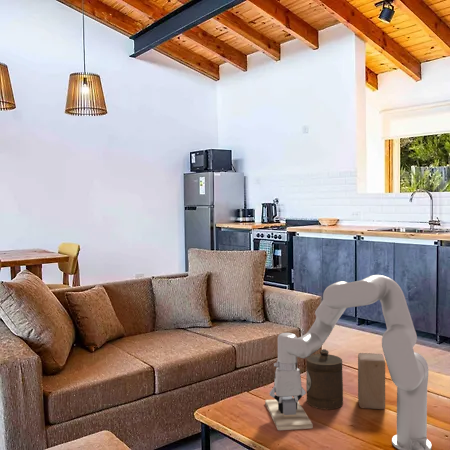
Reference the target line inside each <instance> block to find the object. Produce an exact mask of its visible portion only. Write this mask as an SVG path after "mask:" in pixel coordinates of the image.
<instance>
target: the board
mask: <svg viewBox="0 0 450 450" xmlns="http://www.w3.org/2000/svg"><path fill="white" fill-rule="evenodd" d="M293 399H294V398H293ZM264 402H265V406H266V408H267V410H268V412H269V415H270V416H271V418H272V421H273V424H274V425H275V427H276V429H277V431H289V430H291V431H292V430H304V429H306V430H307V429H313V428H314V427H313V426H314V424H313V423H312V420H311V419H310V417H309V416H308V414H307V413H306V411H305V410H304V408H303V407H302V405H301V404H300V401H298V402H297V409H296V416H286V417H284V415H283V413H281V412H280V410H278V401H277V400H276V399H275V398H274V399H265V400H264Z"/></svg>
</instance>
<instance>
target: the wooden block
mask: <svg viewBox="0 0 450 450" xmlns="http://www.w3.org/2000/svg"><path fill="white" fill-rule="evenodd" d="M357 399H358V405H359V408H362V409H369V410H370V409H373V410H385V409H386V359H385V356H384V354H382V353H375V352H373V353H372V352H371V353H370V352H369V353H368V352H359V353H358V355H357Z"/></svg>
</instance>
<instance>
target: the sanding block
mask: <svg viewBox="0 0 450 450" xmlns="http://www.w3.org/2000/svg"><path fill="white" fill-rule="evenodd" d="M282 403H283V415H284V417H286V416H296V402H295V401H294V399H293V396H286V397H283V398H282Z"/></svg>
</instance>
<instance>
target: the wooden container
mask: <svg viewBox="0 0 450 450" xmlns="http://www.w3.org/2000/svg"><path fill="white" fill-rule="evenodd" d="M305 363H306V377H305V378H306V380H305V381H306V382H305V383H306V384H305V385H306V387H305V388H306V390H305V392H306V403H307V405H309V406H311V407H313V408H316V409H319V410H320V409H321V410H335V409H339V408H340V407H342V406H343V405H344V381H343V380H344V379H343V378H344V376H343V373H344V372H343V359H342V358H341V357H339V356H337V355H334V354H330V353H329V350H327V349H321V350H320V351H319V353H315V354H314V353H313V354H312V355H310V356H309V357H307V358H306V362H305Z"/></svg>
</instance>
